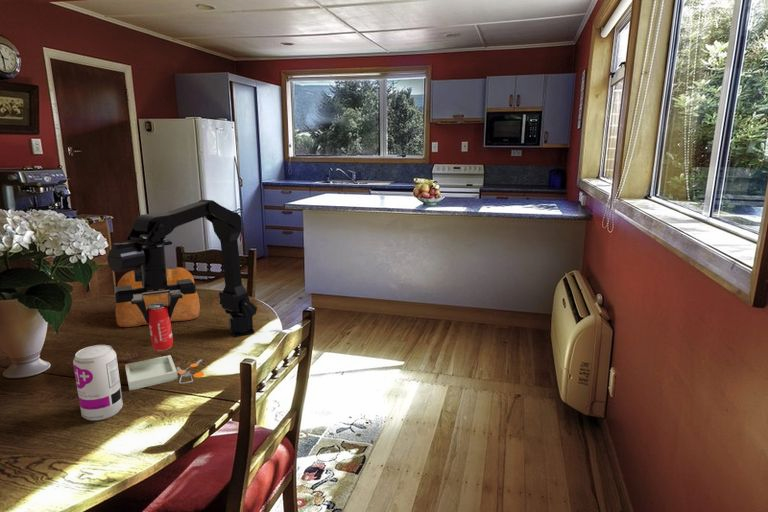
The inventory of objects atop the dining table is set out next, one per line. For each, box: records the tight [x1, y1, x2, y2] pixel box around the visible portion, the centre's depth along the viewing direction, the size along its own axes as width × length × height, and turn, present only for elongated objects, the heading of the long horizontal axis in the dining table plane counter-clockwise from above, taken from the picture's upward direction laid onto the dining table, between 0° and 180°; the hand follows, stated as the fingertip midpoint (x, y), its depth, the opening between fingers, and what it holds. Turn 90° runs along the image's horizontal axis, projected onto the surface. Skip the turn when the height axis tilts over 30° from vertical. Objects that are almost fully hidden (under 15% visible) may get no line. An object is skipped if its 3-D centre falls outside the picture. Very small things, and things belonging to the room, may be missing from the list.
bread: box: [115, 266, 201, 328], centre depth 163 cm, size 16×26×17 cm, turn 112°
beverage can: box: [147, 302, 174, 352], centre depth 126 cm, size 5×5×12 cm
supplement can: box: [72, 344, 124, 422], centre depth 106 cm, size 8×8×15 cm
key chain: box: [176, 359, 205, 385], centre depth 127 cm, size 13×7×1 cm, turn 22°
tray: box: [124, 354, 179, 391], centre depth 125 cm, size 11×11×2 cm
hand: (158, 321), depth 125 cm, fingers closed on beverage can, 5 cm apart
